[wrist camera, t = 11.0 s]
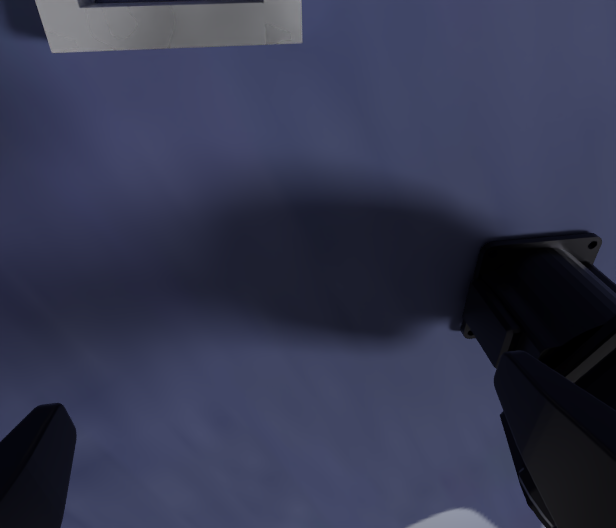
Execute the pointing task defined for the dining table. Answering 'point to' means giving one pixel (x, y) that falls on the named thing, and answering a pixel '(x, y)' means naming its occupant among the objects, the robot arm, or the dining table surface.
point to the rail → (168, 24)
